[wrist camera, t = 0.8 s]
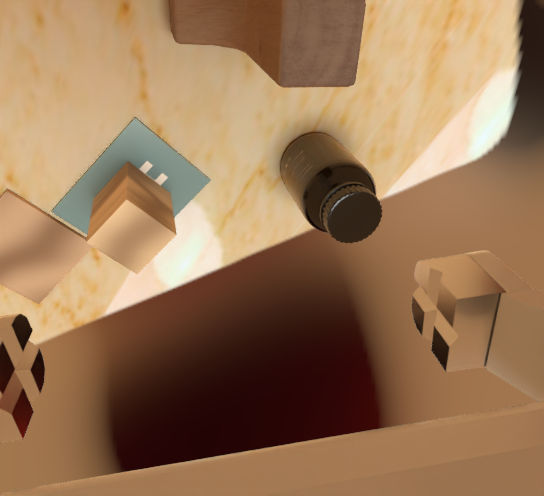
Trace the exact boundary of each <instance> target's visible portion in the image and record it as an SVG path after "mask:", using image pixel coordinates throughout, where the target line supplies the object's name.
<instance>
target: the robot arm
mask: <svg viewBox="0 0 544 496" xmlns="http://www.w3.org/2000/svg"><path fill="white" fill-rule="evenodd" d="M414 278H415V280H416V281H417V282H418V284H419V285H420V286H419V288H418V289H417V290H416V291H415V293H414V294H413V295H412V313H413V319H414V322H415V324H416V327H417V329H418V331H419V332H420V334H421V336H422V337H424V338H426V339H428V340H430V341H432V349H431V351H432V352H433V354H434V355H435V357H436V358H437V360H438V361H439V363H440V364H441V366H442V367H443V369H444V370H445V371H446V372H451V371H458V370H466V369H473V368H481V367H486V369H487V370H488V371H490V372H491V373H493V374H495V375H496V376H498V377H500V378H501V379H503V380H504V381H506V382H507V383H509V384H511V385H512V386H514V387H516V388H517V389H519V390H520V391H522V392H523V393H525V394H527V395H528V396H530V397H531V398H533V399H535V400H536V401H538V402H535V403H530V404H524V405H518V406H512V407H506V408H501V409H495V410H489V411H483V412H477V413H471V414H465V415H460V416H453V417H447V418H441V419H435V420H430V421H424V422H417V423H411V424H405V425H400V426H394V427H388V428H382V429H376V430H370V431H364V432H358V433H352V434H346V435H340V436H334V437H328V438H322V439H316V440H310V441H305V442H299V443H293V444H287V445H281V446H275V447H270V448H264V449H258V450H252V451H246V452H240V453H235V454H228V455H223V456H217V457H211V458H205V459H199V460H194V461H188V462H182V463H176V464H170V465H165V466H158V467H152V468H146V469H141V470H135V471H129V472H123V473H117V474H111V475H105V476H100V477H93V478H87V479H81V480H75V481H69V482H63V483H57V484H52V485H46V486H41V487H34V488H28V489H22V490H16V491H10V492H5V493H0V496H544V289H542V288H537V289H533V288H531V287H530V286H529V285H528V284H527V283H526V282H525V281H523V280H522V279H521V278H520V277H519V276H518V275H516V274H515V273H514V272H513V271H512V270H511V269H510V268H509V267H507V266H506V265H505V264H504V263H503V262H502V261H501V260H499V259H498V258H497V257H496V256H495V255H494V254H492V253H491V252H489V251H486V250H482V251H477V252H471V253H465V254H461V255H454V256H448V257H441V258H435V259H429V260H422V261H418V262H417V265H416V268H415V275H414ZM32 331H33V330H32V328H31V326H30V324H29V321H28V319H27V317H25V316H24V315H22V314H15V315H6V316H0V444H2V443H7V442H12V441H18V440H23V438H24V436H25V433H26V431H27V428H28V425H29V422H30V420H31V417H32V415H33V412H34V411H33V409H32V407H31V404H30V403H31V401H33V400H34V399H35V398H36V397H37V396H39V395H40V393H41V390H42V387H43V384H44V375H45V366H44V361H43V356H42V354H41V351H40V348H39V347H37V346H36V345H34V344H33V343H31V342H30V341H28V340H29V338H30V335H31V333H32Z"/></svg>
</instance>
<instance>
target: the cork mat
mask: <svg viewBox="0 0 544 496" xmlns="http://www.w3.org/2000/svg"><path fill="white" fill-rule="evenodd" d="M86 241H87V238H85V237H84V236H82V235H80V234H79V233H77V232H76V231H74V230H72V229H71V228H69V227H68V226H66V225H64V224H63V223H61V222H60V221H58V220H56V219H55V218H53V217H52V216H50V215H48V214H47V213H45V212H43V211H42V210H40V209H39V208H37V207H35V206H34V205H32V204H31V203H29V202H27V201H26V200H24V199H23V198H21V197H19V196H18V195H16V194H15V193H13V192H11V191H10V190H8V189H7V190H6V191H5V192H4V194H3V195H2V196H1V197H0V284H1V285H3V286H4V287H6V288H8V289H10V290H12V291H14V292H16V293H18V294H20V295H22V296H24V297H26V298H28V299H30V300H32V301H34V302H36V303H38V304H39V303H40V302H41V301H42V300H43V299H44V298H45V297H46V296H47V295H48V294H49V293H50V292H51V291H52V289H53V288H54V287H55V286H56V285H57V284H58V283H59V282H60V281H61V280H62V279H63V278H64V277H65V276H66V275H67V274H68V272H69V271H70V270H71V269H72V268H73V267H74V266H75V265H76V264H77V263H78V262H79V261H80V260H81V259H82V258H83V257H84V256H85V254H86V253H87V252H88V251H89V250H90V249H91V248H92V247H93V246H91V245H89V244H88V243H86Z"/></svg>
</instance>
